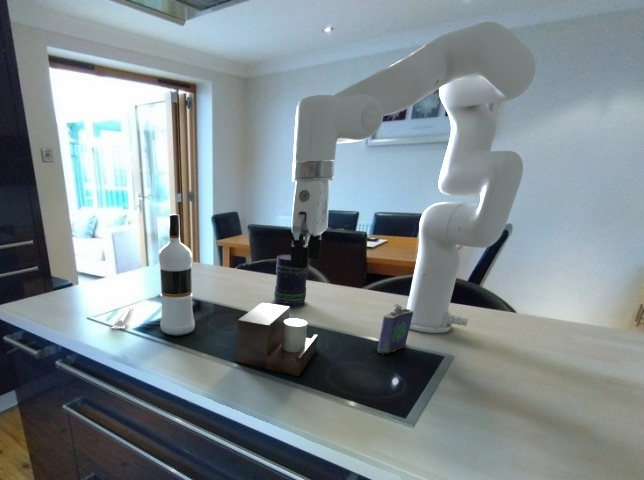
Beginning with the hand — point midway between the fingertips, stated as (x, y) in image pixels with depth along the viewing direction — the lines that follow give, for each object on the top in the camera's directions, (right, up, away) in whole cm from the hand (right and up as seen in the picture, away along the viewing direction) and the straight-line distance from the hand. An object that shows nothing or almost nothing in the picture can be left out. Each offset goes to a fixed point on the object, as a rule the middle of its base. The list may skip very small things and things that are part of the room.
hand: (305, 262), depth 80 cm
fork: (-44, -11, +33) cm, 55 cm away
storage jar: (+8, -5, +45) cm, 46 cm away
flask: (+24, -18, +12) cm, 32 cm away
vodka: (-27, -14, +25) cm, 39 cm away
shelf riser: (-4, -20, +9) cm, 22 cm away
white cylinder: (-1, -18, +6) cm, 19 cm away
